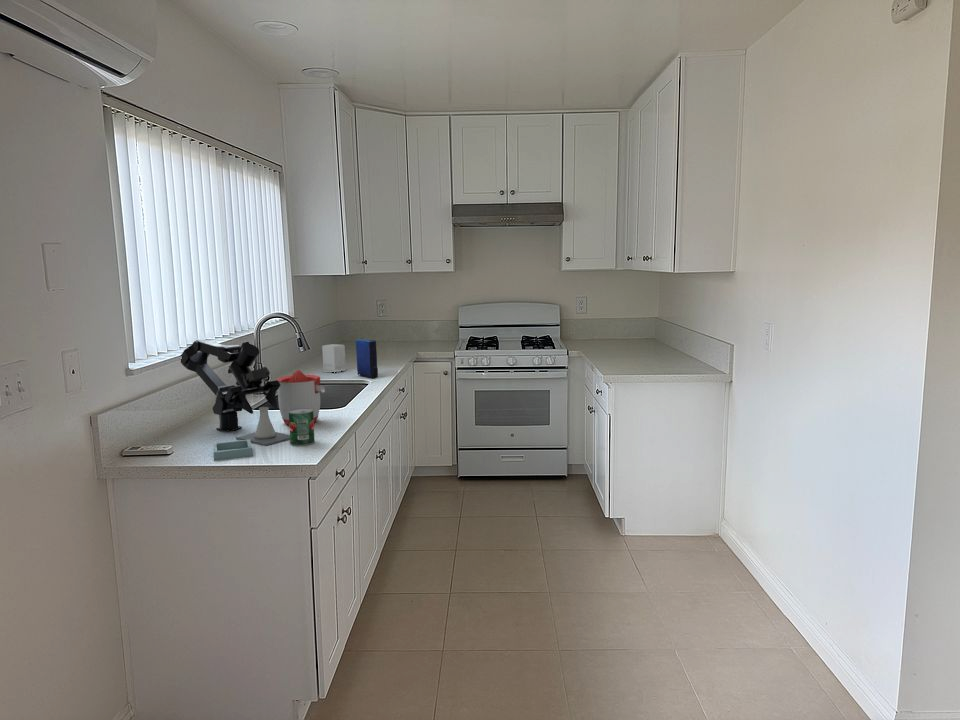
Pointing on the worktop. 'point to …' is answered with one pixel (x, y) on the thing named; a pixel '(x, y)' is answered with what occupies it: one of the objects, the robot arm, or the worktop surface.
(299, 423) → the canned tomato
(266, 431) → the flask
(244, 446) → the shallow square tray
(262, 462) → the worktop surface
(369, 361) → the book
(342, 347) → the supplement box
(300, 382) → the citrus juicer
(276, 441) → the mat
